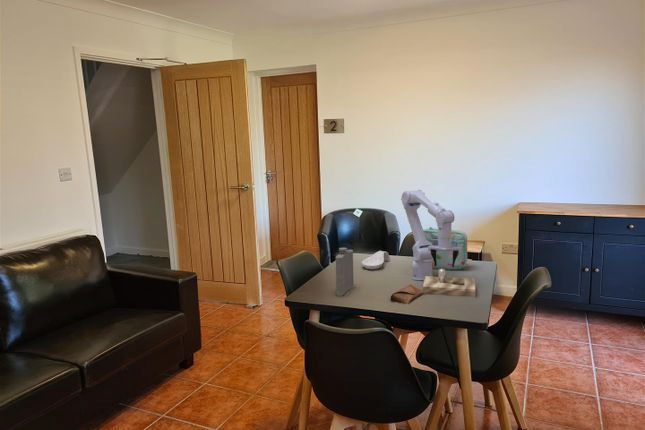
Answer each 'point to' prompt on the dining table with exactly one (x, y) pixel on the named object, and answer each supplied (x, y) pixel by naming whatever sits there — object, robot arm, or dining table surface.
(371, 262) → the spoon rest
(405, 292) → the sunglasses case
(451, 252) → the lunch box
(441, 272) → the peg
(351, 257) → the hip flask
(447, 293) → the keyhole plate
